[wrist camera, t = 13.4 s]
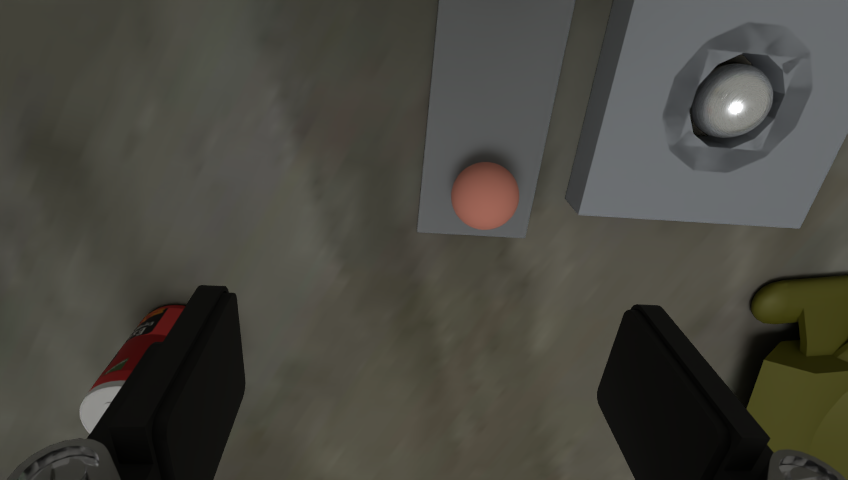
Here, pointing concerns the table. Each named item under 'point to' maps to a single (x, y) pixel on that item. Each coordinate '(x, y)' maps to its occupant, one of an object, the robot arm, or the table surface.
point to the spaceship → (806, 369)
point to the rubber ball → (485, 195)
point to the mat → (490, 101)
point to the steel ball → (731, 100)
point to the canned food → (126, 362)
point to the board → (672, 98)
